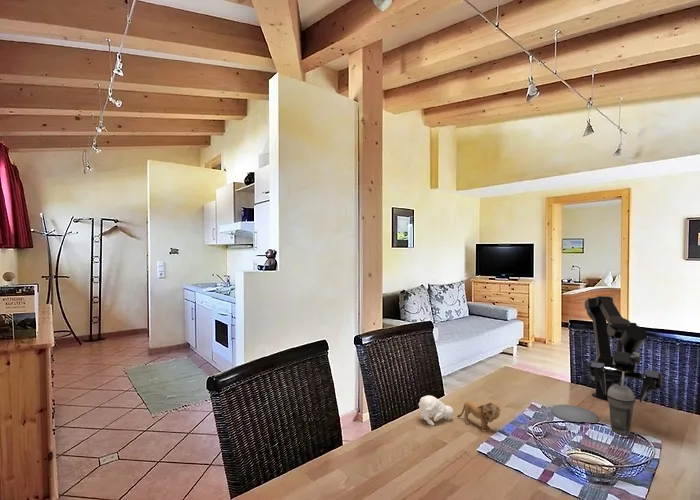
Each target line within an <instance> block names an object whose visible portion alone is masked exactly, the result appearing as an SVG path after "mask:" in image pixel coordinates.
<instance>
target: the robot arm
mask: <svg viewBox="0 0 700 500" xmlns="http://www.w3.org/2000/svg"><path fill="white" fill-rule="evenodd" d="M584 309H585V311H586V314H587V316H588V317H589V318H590V319H591V320H592V326H593V333H594V341H595V346H596V358H595V360H591V361H590V362H589V366H588V368H589V369H588V370H589V372H590V373H589V375H590V379H591V381H593V382H595V392H594V393H592V394H591V396H593V397H596V398H598V399H601V400H605V401H607V402H608V397H607V393H608V389H609V388H610V387H611V386H612V385H614V384H621V379H622V372H623V371H624V378H628V379H633V380H634V379H635V380H640V381H642V385H641V389H640V393H639V403H642V402H643V401H644V399H645V398H646V397H647V395H648V394H649V393H650V392H651V391H655V390H659V389H662V373H661V372H660V371H656V370H649V369H645V370H644V373H641V372H636V369H637V368H636V367H637V364H638V365H640V364H641V352H638V349H639V348H641V347H642V345H643V343H644V342H645V340H646V339H647V337H648V333H647V331H646V330H645V329H644V328H642V327H641V326H639V325H638V324H637V323H636V322H631V321H630V320H629V319H626V317H625V318H624V317H623V316H622V315H621V312H620V311H619V310H618V308H617V306H616V305H615V303H614V298H613V297H612V296H606V295H599V296H596V297H589V298H587V299H586V300H585V301H584ZM609 337H610V338H611V339H613V340H615V339H617V341H616V345H615V350H614V351H613V355H612V350H611V343H610V338H609Z"/></svg>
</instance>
